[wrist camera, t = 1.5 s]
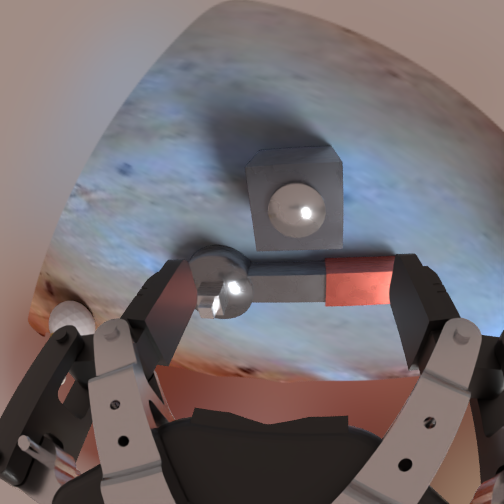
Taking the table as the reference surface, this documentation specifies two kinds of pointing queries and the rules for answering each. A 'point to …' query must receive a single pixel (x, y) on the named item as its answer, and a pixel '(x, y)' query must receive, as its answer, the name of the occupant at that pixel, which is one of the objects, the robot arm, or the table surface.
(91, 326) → the perfume bottle
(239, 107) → the table surface
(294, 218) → the cube with chrome knob
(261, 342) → the table surface
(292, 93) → the table surface
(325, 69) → the table surface
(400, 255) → the robot arm
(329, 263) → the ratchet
